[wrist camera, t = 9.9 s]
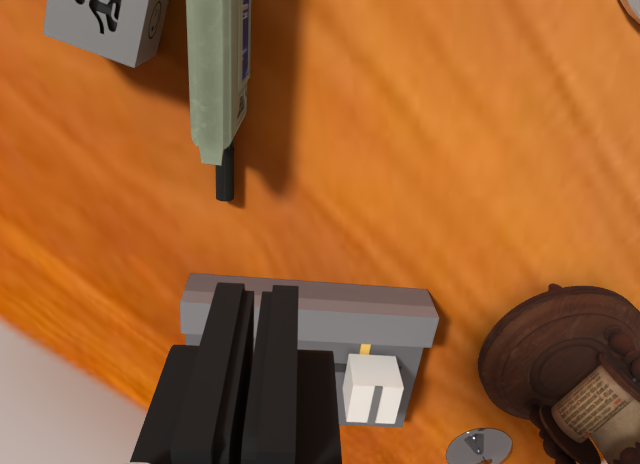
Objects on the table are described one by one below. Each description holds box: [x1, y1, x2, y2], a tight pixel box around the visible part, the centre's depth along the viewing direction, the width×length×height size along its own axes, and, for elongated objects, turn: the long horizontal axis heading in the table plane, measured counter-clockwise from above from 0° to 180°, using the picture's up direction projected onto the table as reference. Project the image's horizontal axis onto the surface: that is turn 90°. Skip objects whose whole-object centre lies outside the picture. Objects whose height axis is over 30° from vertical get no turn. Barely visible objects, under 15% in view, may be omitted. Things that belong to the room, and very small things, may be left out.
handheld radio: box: [186, 0, 251, 201], centre depth 29 cm, size 7×3×25 cm
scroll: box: [478, 284, 640, 464], centre depth 37 cm, size 15×15×20 cm
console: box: [180, 273, 439, 427], centre depth 42 cm, size 20×14×4 cm
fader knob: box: [343, 354, 404, 425], centre depth 41 cm, size 4×4×4 cm
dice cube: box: [43, 0, 169, 68], centre depth 29 cm, size 5×5×5 cm
